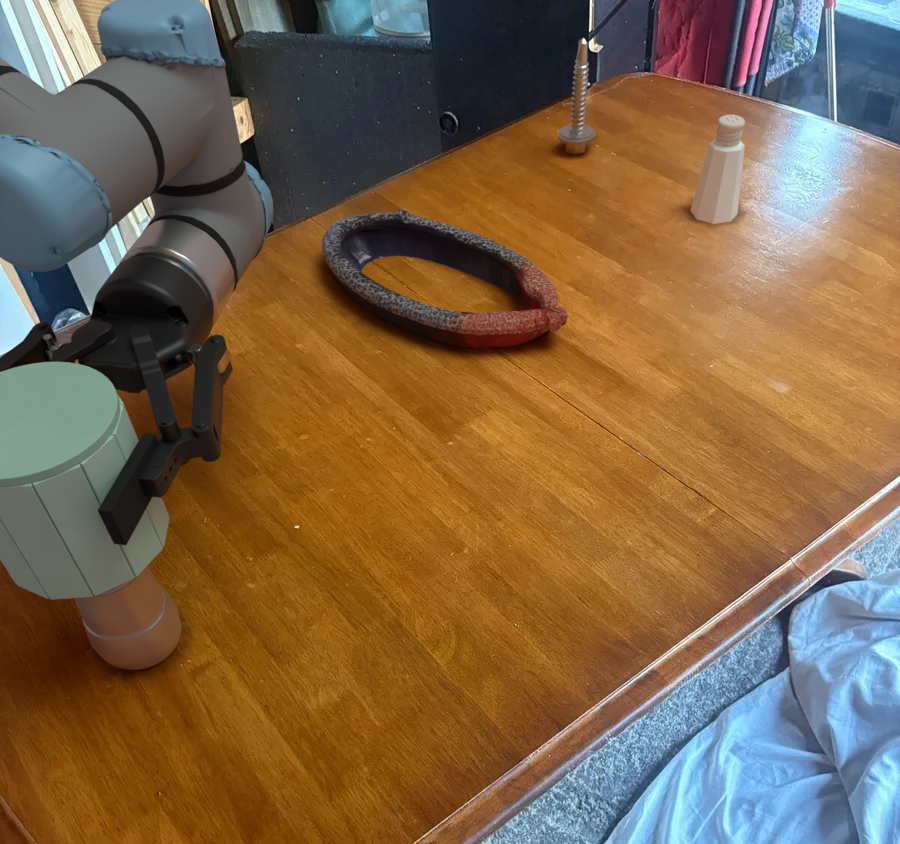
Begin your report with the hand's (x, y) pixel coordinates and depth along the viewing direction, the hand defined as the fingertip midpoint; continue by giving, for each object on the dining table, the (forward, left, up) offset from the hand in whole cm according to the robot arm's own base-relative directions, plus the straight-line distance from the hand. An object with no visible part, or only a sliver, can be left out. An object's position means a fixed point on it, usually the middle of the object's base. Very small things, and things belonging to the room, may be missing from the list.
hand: (20, 518), depth 51 cm
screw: (-2, +91, -18) cm, 93 cm away
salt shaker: (+19, +81, -18) cm, 85 cm away
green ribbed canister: (-1, +4, -6) cm, 7 cm away
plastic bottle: (-1, +4, -18) cm, 19 cm away
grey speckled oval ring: (-2, +53, -18) cm, 56 cm away
